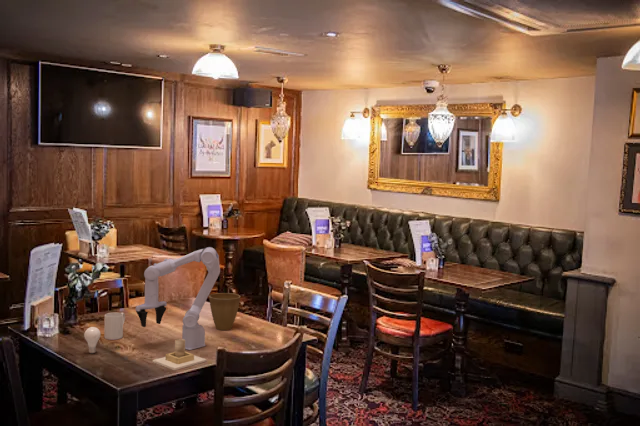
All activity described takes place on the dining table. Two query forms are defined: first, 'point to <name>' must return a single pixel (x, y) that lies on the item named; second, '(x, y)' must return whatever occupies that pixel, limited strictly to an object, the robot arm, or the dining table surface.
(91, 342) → the lightbulb
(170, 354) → the socket plate
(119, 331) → the mug
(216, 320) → the plant pot
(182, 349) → the birch peg
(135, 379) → the dining table surface
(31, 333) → the dining table surface
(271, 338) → the dining table surface
